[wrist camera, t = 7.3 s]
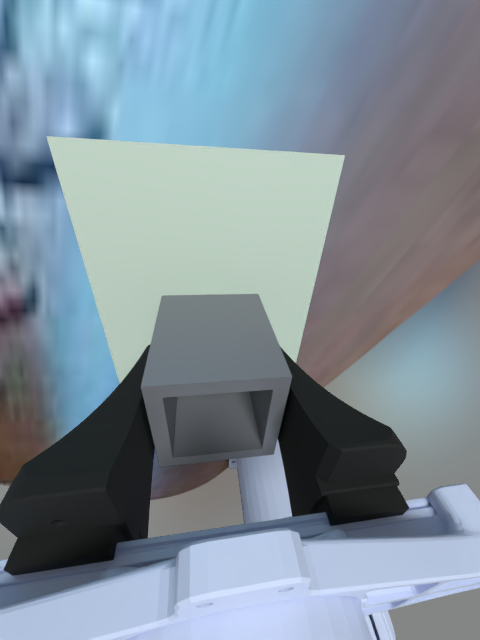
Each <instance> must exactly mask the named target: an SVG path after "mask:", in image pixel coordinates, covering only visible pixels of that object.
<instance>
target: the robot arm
mask: <svg viewBox="0 0 480 640" xmlns="http://www.w3.org/2000/svg"><path fill="white" fill-rule="evenodd" d="M280 348H281V347H280ZM149 349H150V345H148V346H147V347H146V349H145V350H144V352H143V353H142V355H141V356H140V358H139V359H138V361H137V362H136V364H135V365H134V366H133V368H132V369H131V370H130V372H129V373H128V374H127V376H126V377H125V378H124V379H123V381H122V382H121V383H120V384H119V385H118V387H117V388H116V389H115V390H114V391H113V392H112V393H111V395H110V396H109V397H108V398H107V399H106V400H105V401H104V402H103V403H102V404H101V405H100V406H99V407H98V408H97V409H96V410H95V411H94V412H93V413H91V414H90V415H89V416H88V417H87V418H86V419H85V420H84V421H83V422H81V423H80V424H79V425H78V426H77V427H75V428H74V429H73V430H72V431H70V432H69V433H68V434H67V435H65V436H64V437H63V438H62V439H60V440H59V441H58V442H56V443H55V444H53V445H52V446H51V447H49V448H48V449H46V450H45V451H43V452H42V453H41V454H39V455H38V456H36V457H35V458H33V459H32V460H30V461H29V462H27V463H26V464H24V465H23V466H22V468H21V470H20V471H19V473H18V474H17V476H16V477H15V479H14V480H13V482H12V484H11V486H10V487H9V489H8V491H7V493H6V495H5V497H4V499H3V500H2V502H1V504H0V523H1V524H2V525H3V526H4V527H6V528H7V529H8V530H9V531H10V532H12V533H13V534H14V535H15V536H16V537H18V539H17V541H16V543H15V545H14V548H13V550H12V552H11V554H10V556H9V558H8V559H4V560H0V640H395V632H394V629H393V626H392V622H391V619H390V616H389V613H388V610H390V609H394V608H398V607H402V606H406V605H410V604H414V603H418V602H422V601H426V600H429V599H433V598H438V597H442V596H446V595H450V594H454V593H459V592H462V591H467V590H472V589H476V588H480V501H479V500H478V499H477V497H476V496H475V495H474V493H473V492H472V491H471V490H470V489H469V487H468V486H467V485H466V484H464V483H462V484H454V485H447V486H441V487H438V488H436V489H434V490H432V491H431V492H430V493H429V494H428V496H427V497H424V498H418V499H411V500H405V499H404V498H403V496H402V494H401V492H400V491H399V489H398V487H397V486H398V485H399V481H398V479H397V477H396V476H395V474H394V473H395V472H396V470H397V469H398V468H399V467H400V465H401V464H402V463H403V461H404V460H405V458H406V452H407V451H406V449H405V448H404V446H403V445H402V443H401V442H400V440H399V439H398V437H397V436H396V434H395V433H394V432H393V430H392V429H391V428H390V427H388V426H386V425H384V424H382V423H380V422H378V421H376V420H374V419H372V418H370V417H368V416H366V415H364V414H362V413H361V412H359V411H357V410H356V409H354V408H352V407H351V406H349V405H347V404H346V403H344V402H343V401H341V400H340V399H338V398H337V397H335V396H333V395H332V394H331V393H330V392H328V391H327V390H326V389H324V388H323V387H322V386H320V385H319V384H318V383H317V382H315V381H314V380H313V379H312V378H311V377H310V376H308V375H307V374H306V373H305V372H304V371H303V370H302V369H301V368H300V367H299V366H298V365H297V364H296V363H295V362H294V361H293V360H292V359H291V358H290V357H289V356H288V354H287V353H286V352H285V351H284V350H283V349H282V348H281V350H282V353H283V355H284V358H285V360H286V362H287V365H288V367H289V370H290V372H291V375H292V380H291V384H290V388H289V393H288V397H287V401H286V405H285V410H284V414H283V418H282V422H281V426H280V431H279V435H278V439H277V443H276V448H275V452H274V455H265V456H256V457H247V458H238V459H229V468H232V469H234V468H237V470H238V477H239V486H240V494H241V501H242V510H243V518H244V524H241V525H235V526H228V527H221V528H215V529H208V530H201V531H194V532H187V533H181V534H174V535H167V536H160V537H154V538H148V523H149V506H150V494H151V481H152V470H153V459H154V449H155V445H154V441H153V437H152V432H151V428H150V424H149V420H148V415H147V411H146V407H145V403H144V398H143V394H142V390H141V383H142V379H143V375H144V370H145V366H146V362H147V357H148V353H149Z"/></svg>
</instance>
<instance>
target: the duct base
mask: <svg viewBox="0 0 480 640" xmlns="http://www.w3.org/2000/svg"><path fill="white" fill-rule="evenodd" d="M46 137H47V140H48V143H49V147H50V150H51V153H52V157H53V160H54V164H55V167H56V170H57V174H58V177H59V180H60V184H61V187H62V190H63V194H64V197H65V201H66V204H67V207H68V211H69V214H70V217H71V221H72V224H73V228H74V231H75V234H76V238H77V241H78V244H79V248H80V251H81V254H82V258H83V261H84V265H85V268H86V271H87V275H88V278H89V281H90V285H91V288H92V292H93V295H94V298H95V302H96V305H97V308H98V312H99V315H100V318H101V322H102V325H103V329H104V332H105V335H106V339H107V342H108V345H109V349H110V352H111V356H112V359H113V362H114V366H115V369H116V372H117V376H118V379H119V382H120V383H121V382H122V381H123V379H124V378H125V377H126V376H127V374H128V373H129V372H130V370H131V369H132V368H133V366H134V365H135V364H136V362H137V361H138V359H139V358H140V356H141V355H142V353H143V352H144V350H145V349H146V347H147V346H148V345H150V344H151V340H152V336H153V331H154V327H155V323H156V318H157V314H158V310H159V305H160V301H161V297H162V295H218V294H259V297H260V299H261V302H262V304H263V306H264V309H265V311H266V314H267V316H268V319H269V321H270V323H271V326H272V328H273V331H274V333H275V336H276V338H277V341H278V343H279V345H280V347H281V348H282V349H283V350H284V351H285V352H286V353H287V354H288V356H289V357H290V358H291V359H292V360H293V361H294V362H295V363H296V360H297V356H298V352H299V347H300V343H301V339H302V335H303V331H304V326H305V322H306V318H307V314H308V309H309V305H310V301H311V297H312V292H313V288H314V284H315V280H316V276H317V271H318V267H319V263H320V259H321V254H322V250H323V246H324V242H325V238H326V233H327V229H328V225H329V221H330V216H331V212H332V208H333V204H334V199H335V195H336V191H337V187H338V183H339V178H340V174H341V170H342V166H343V161H344V157H345V155H332V154H317V153H301V152H285V151H270V150H254V149H239V148H223V147H207V146H192V145H176V144H161V143H145V142H129V141H114V140H98V139H83V138H67V137H51V136H46Z"/></svg>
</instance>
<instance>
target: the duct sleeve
mask: <svg viewBox="0 0 480 640" xmlns="http://www.w3.org/2000/svg"><path fill="white" fill-rule="evenodd" d="M291 380H292V375H291V372H290V370H289V367H288V365H287V362H286V360H285V358H284V355H283V353H282V350H281V348H280V345H279V343H278V341H277V338H276V336H275V333H274V331H273V328H272V326H271V323H270V321H269V319H268V316H267V314H266V311H265V309H264V306H263V304H262V302H261V299H260V297H259V294H218V295H162V297H161V301H160V305H159V310H158V314H157V318H156V323H155V327H154V331H153V336H152V340H151V344H150V349H149V353H148V357H147V362H146V366H145V370H144V375H143V379H142V383H141V390H142V394H143V398H144V403H145V407H146V411H147V415H148V420H149V424H150V428H151V432H152V437H153V441H154V445H155V449H156V454H157V458H158V462H159V466H160V467H166V466H175V465H184V464H193V463H202V462H211V461H220V460H229V459H238V458H247V457H256V456H265V455H274V452H275V448H276V443H277V439H278V435H279V431H280V426H281V422H282V418H283V414H284V410H285V405H286V401H287V397H288V393H289V388H290V384H291Z"/></svg>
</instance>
